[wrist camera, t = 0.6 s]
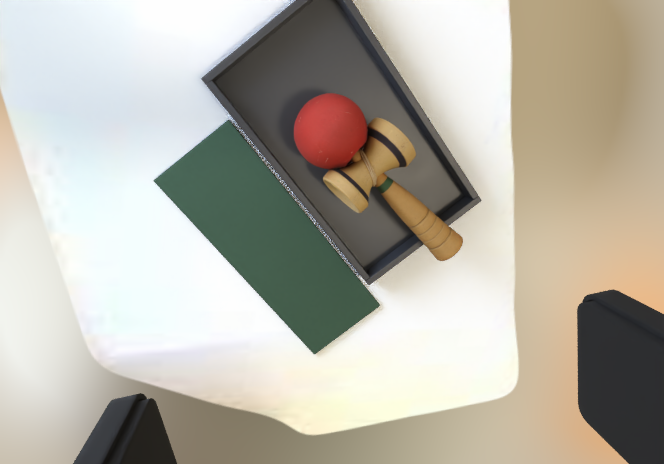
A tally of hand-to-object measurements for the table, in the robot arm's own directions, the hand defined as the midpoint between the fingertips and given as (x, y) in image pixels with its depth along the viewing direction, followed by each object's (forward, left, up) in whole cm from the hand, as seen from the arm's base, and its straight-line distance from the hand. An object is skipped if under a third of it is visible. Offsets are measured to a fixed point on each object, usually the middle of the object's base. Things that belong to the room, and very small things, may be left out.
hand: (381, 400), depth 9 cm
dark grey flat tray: (0, +5, -31) cm, 31 cm away
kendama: (+4, +6, -30) cm, 31 cm away
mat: (+3, -6, -31) cm, 32 cm away
